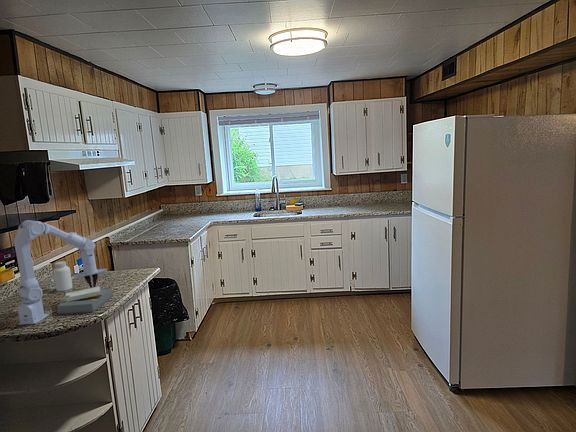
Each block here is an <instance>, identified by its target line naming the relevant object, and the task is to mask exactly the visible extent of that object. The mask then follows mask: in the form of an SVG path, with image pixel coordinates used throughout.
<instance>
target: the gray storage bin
mask: <svg viewBox="0 0 576 432" xmlns="http://www.w3.org/2000/svg"><path fill="white" fill-rule="evenodd" d="M100 293H101V295H97V296H93V297H88V298H83V299H78V300H74V301H69V302H66V299H65V300H63V302H61V303H59V304H58V305H56V307H57V314H58V315H68V314H69V315H70V314H71V315H73V314H87V313H94V312H95V310H96V311H97V310H98V309H100V308H101V307H102V306H103V305H104V304H106V302H107V301H109V300H110V299H112V297H114V292H113V288H100ZM90 299H97V300H90ZM84 300H85V301H84ZM101 305H102V306H101Z"/></svg>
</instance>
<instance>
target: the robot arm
mask: <svg viewBox="0 0 576 432" xmlns="http://www.w3.org/2000/svg"><path fill="white" fill-rule="evenodd" d="M17 229H18V230H17V232H16V234H15V236H14V239H13V243H14V249H15V254H16V259H17V264H18V266H17V267H18V271H19V276H20V281H19V289H18V292H17V293H18V295H19V297H21V305H20V306H19V307H18V309H17V313H18V318H19V319H18V321H19V323H18V325H19V326H20V325H24V326H25V325H35V324H36V325H37V324H38V323H39V322H41V321H42V320H44V319H45V318H47V317H48V316H50V313H45V310H44V304H43V299H42V297H43V289H42V288H41V287H40V285H39V282H38V279H36V274H35V269H34V263H33V259H32V253H31V252H32V251H31V245H30V243H31V242H33V241H34V239H35V238H37V237H40V236H42V234H43V235H45V234H50V235H52V236H54V237H57V238H59V239H62V240H63V241H64V243H65V244H66V245H69V246H71V247H74V248H76V249H78V250H79V251H80V255H81V261H82V268H83V272H80V273H75V274H73V277H74V280H77V279H80V278H84V280H85V282H87V284H88V285H89V288H93V287H97V286H96V285H97V281H98V278H99V275H102V274H108V270H107V268H99V269H97V265H96V264H97V263H96V256H95V248H96V243H95V242H94V241H93V240H92V239H87V237H86V236H81V235H79V234H78V233H77V232H76V231H71V232H66V231H64V230H61V229H60V228H58V227H56V226H53V225H52V224H49V223H46V222H42V221H39V220H30V219H27V220H24V221H23V222H22V223H21V224H19V225H18V228H17ZM91 278H92V279H91Z"/></svg>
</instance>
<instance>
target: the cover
mask: <svg viewBox="0 0 576 432" xmlns="http://www.w3.org/2000/svg"><path fill="white" fill-rule="evenodd" d="M100 289H101V288H100V286H99V285H98V286H96V287H93V286H92V288H90V287H89V288H84V289H79V290H74V291H69V292H65V300H66V302H69V301H74V300H78V299H83V298H88V297H93V296H97V295H101V293H100Z"/></svg>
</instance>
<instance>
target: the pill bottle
mask: <svg viewBox="0 0 576 432" xmlns="http://www.w3.org/2000/svg"><path fill="white" fill-rule="evenodd" d="M54 267H55V268H54V269H53V270H52V271H53V272H52V273H53V279H54V286H55V291H56V292H66V291H69V290H71V289H72V288H73V281H72V279H73V278H72V273H71V269H70V266H67V262H66V261H59V262H55V263H54Z"/></svg>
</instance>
